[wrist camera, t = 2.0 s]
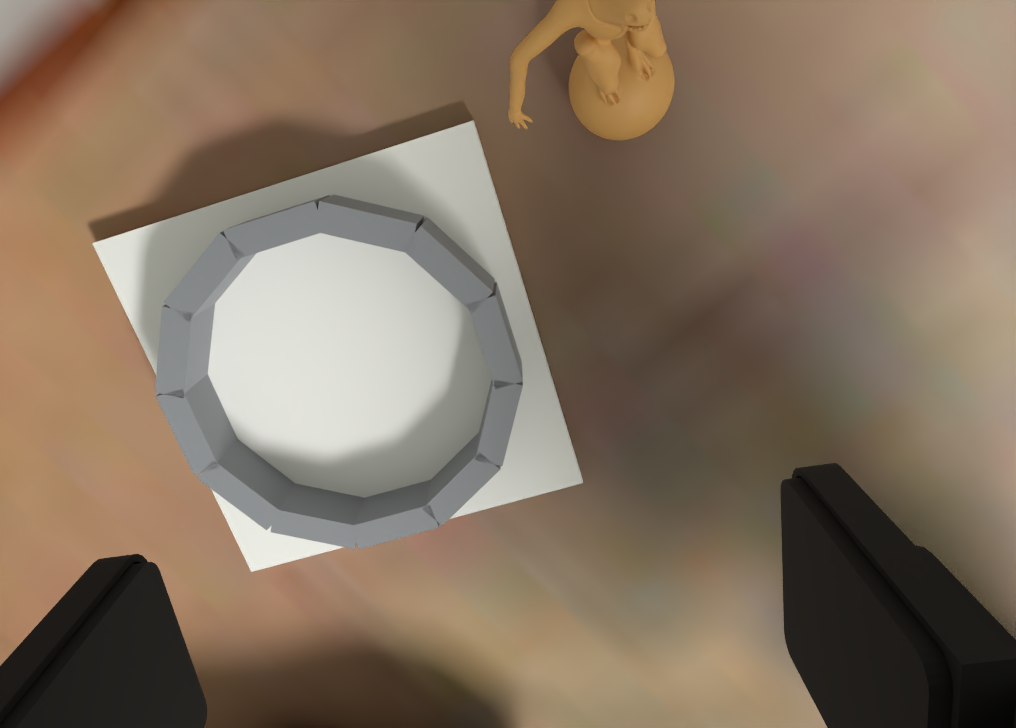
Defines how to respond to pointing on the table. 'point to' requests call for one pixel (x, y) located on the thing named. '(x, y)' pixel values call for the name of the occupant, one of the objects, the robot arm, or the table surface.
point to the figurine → (604, 65)
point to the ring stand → (349, 350)
